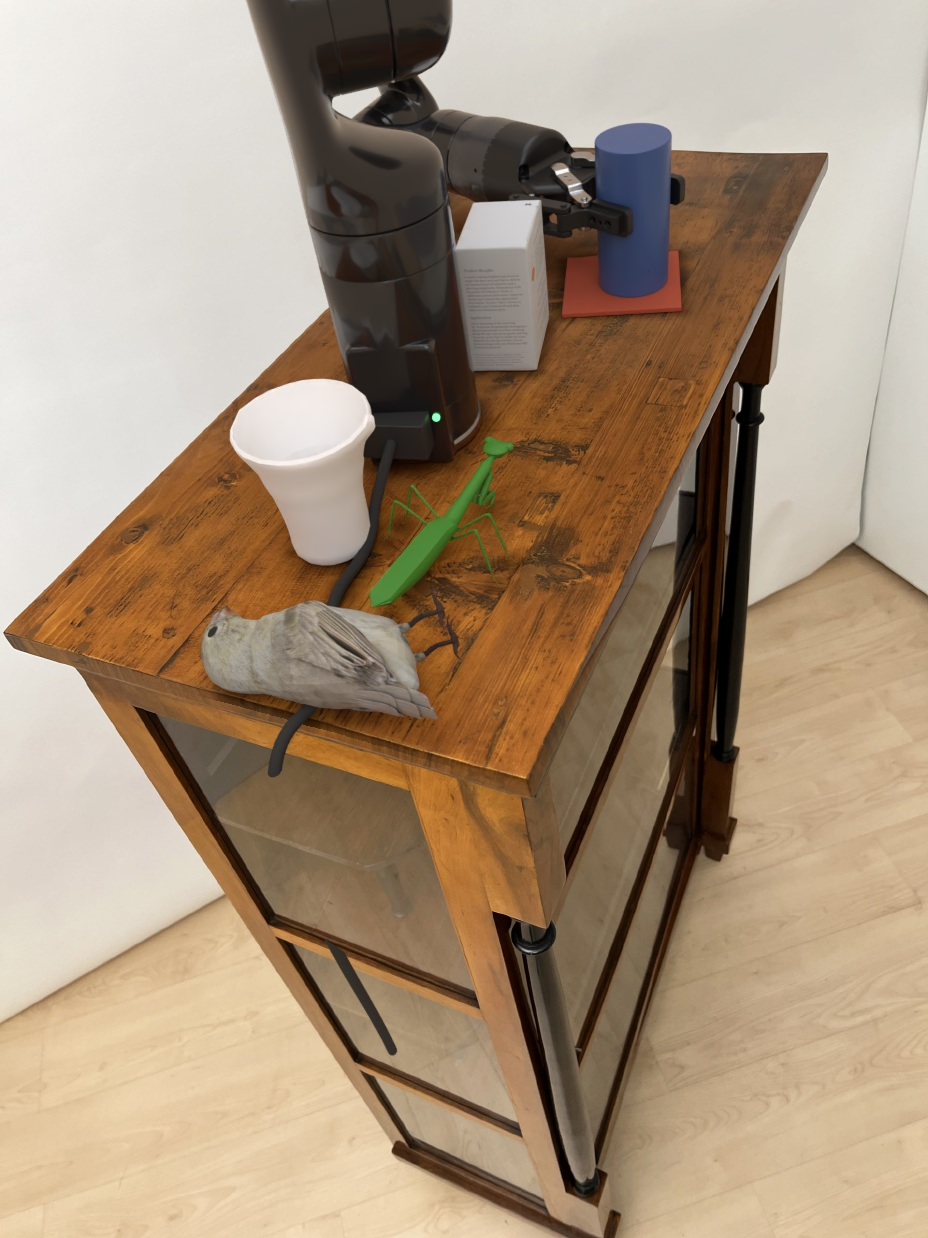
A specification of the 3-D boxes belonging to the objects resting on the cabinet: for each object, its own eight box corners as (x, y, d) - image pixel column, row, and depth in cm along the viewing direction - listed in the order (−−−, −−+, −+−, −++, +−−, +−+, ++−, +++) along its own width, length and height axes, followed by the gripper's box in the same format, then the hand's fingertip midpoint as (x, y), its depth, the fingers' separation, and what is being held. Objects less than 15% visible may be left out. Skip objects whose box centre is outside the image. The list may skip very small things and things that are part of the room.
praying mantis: (564, 511, 64) (563, 456, 61) (437, 653, 56) (428, 598, 53) (452, 474, 69) (445, 420, 65) (319, 600, 60) (303, 546, 57)
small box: (487, 321, 82) (471, 200, 75) (551, 319, 81) (542, 196, 73) (469, 372, 77) (451, 248, 70) (537, 372, 76) (526, 245, 68)
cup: (382, 586, 61) (348, 463, 54) (252, 576, 63) (202, 456, 56) (419, 497, 67) (392, 375, 59) (298, 491, 69) (258, 372, 62)
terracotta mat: (681, 311, 79) (681, 306, 79) (561, 317, 81) (561, 313, 81) (678, 254, 86) (678, 250, 86) (567, 261, 88) (567, 257, 87)
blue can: (668, 295, 80) (672, 149, 72) (597, 299, 82) (593, 156, 73) (667, 261, 84) (671, 118, 76) (599, 265, 86) (595, 125, 77)
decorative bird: (202, 578, 57) (154, 682, 53) (451, 573, 52) (421, 688, 47) (242, 631, 61) (201, 731, 57) (477, 631, 56) (451, 742, 51)
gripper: (446, 153, 80) (597, 195, 71) (559, 94, 86) (713, 126, 77) (458, 238, 86) (600, 288, 76) (564, 178, 92) (708, 217, 82)
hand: (656, 206), depth 77 cm, fingers closed on blue can, 6 cm apart
